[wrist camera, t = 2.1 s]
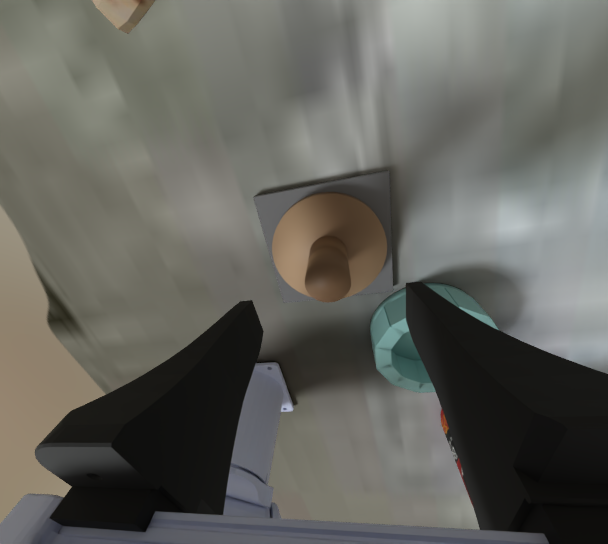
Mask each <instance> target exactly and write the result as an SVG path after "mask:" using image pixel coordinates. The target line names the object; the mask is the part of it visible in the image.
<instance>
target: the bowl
mask: <svg viewBox="0 0 608 544" xmlns="http://www.w3.org/2000/svg"><path fill="white" fill-rule="evenodd" d="M425 285H426V286H428V287H429V288H431V289H432V290H433V291H435V292H436V293H438V294H439V295H441V296H442V297H443V298H445V299H446V300H448V301H449V302H451V303H452V304H454V305H455V306H457V307H459V308H460V309H462V310H463V311H465V312H467V313H468V314H470V315H472V316H473V317H475V318H477V319H479V320H480V321H482V322H484V323H486V324H488V325H489V326H491V327H493V328H495V329H497V330H498V328H497V326H496V325H495V323H494V322H493V320H492V319H491V318H490V316H489V315H488V314H487V313H486V312H485V311H484V310H483V309H482V307H481V306H480V305H479V304H478V303H477V302H476V301H475V300H474V298H472V297H470V296H469V295H468V294H467V293H465V292H464V291H462V290H460V289H458V288H456V287H453V286H450V285H446V284H440V283H425ZM370 334H371V340H372V349H373V354H374V359H375V363H376V368H377V370H378V371H379V372H380V373H381V374H382V375H383V376H384V377H385V378H386V379H387V380H388V381H389V382H390V383H391V384H393V385H395V386H398V387H401V388H405V389H408V390H411V391H414V392H419V393H421V392H436V391H435V388H434V386H433V384H432V382H431V380H430V377H429V375H428V373H427V371H426V369H425V367H424V364H423V362H422V360H421V358H420V356H419V354H418V351H417V349H416V347H415V345H414V343H413V340H412V338H411V335H410V332H409V328H408V325H407V322H406V288H404V289H402V290H400V291H398V292H396V293H394V294H392V295H391V296H389V297H388V298H387V299H385V300H384V301H383V302H382V303H381V304H380V305H379V306H378V308H377V309H376V310H375V312H374V314H373V316H372V319H371V323H370Z"/></svg>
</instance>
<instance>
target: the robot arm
mask: <svg viewBox="0 0 608 544" xmlns="http://www.w3.org/2000/svg"><path fill="white" fill-rule="evenodd" d="M406 322H407V325H408V328H409V332H410V335H411V338H412V340H413V343H414V345H415V347H416V349H417V351H418V354H419V356H420V358H421V360H422V362H423V364H424V367H425V369H426V371H427V373H428V375H429V377H430V380H431V382H432V384H433V386H434V388H435V391H436V393H437V396H438V398H439V401H440V404H441V407H442V410H443V413H444V416H445V418H446V421H447V424H448V427H449V430H450V433H451V436H452V439H453V442H454V445H455V448H456V452H457V455H458V458H459V461H460V464H461V467H462V471H463V474H464V477H465V480H466V483H467V487H468V490H469V493H470V497H471V500H472V504H473V507H474V510H475V514H476V517H477V520H478V524H479V527H480V530H473V529H455V528H438V527H420V526H403V525H385V524H368V523H350V522H333V521H315V520H298V519H281V516H280V513H279V509H278V506H277V505H276V504H275V503H273V502H271V501H272V494H273V487H270V486H268V482H269V476H270V470H271V465H272V459H273V453H274V448H275V442H276V436H277V431H278V425H279V419H280V414H281V412H284V411H292V410H293V408H294V406H293V403H292V400H291V397H290V395H289V392H288V389H287V386H286V383H285V380H284V378H283V375H282V372H281V369H280V366H279V364H278V363H276V362H269V363H256V361H257V358H258V355H259V352H260V348H261V343H262V337H263V329H262V326H261V324H260V321H259V318H258V315H257V313H256V310H255V307H254V304H253V302H252V300H250V301H241V302H239V303H238V304H237V305H235V306H234V307H233V308H232V309H231V310H230V311H228V312H227V313H226V314H225V315H224V316H223V317H222V318H220V319H219V320H218V321H217V322H216V323H215V324H214V325H212V326H211V327H210V328H209V329H208V330H207V331H205V332H204V333H203V334H202V335H200V336H199V337H198V338H197V339H196V340H194V341H193V342H192V343H191V344H189V345H188V346H187V347H185V348H184V349H183V350H181V351H180V352H178V353H177V354H175V355H174V356H173V357H171V358H170V359H168V360H167V361H165V362H164V363H162V364H160V365H159V366H157V367H155V368H154V369H152V370H151V371H149V372H147V373H146V374H144V375H142V376H141V377H139V378H137V379H135V380H133V381H132V382H130V383H128V384H126V385H124V386H122V387H120V388H118V389H117V390H115V391H113V392H111V393H109V394H107V395H105V396H102V397H100V398H98V399H96V400H94V401H92V402H90V403H87V404H85V405H84V406H81V407H79V408H76V409H74V410H72V411H71V412H69V413H68V414H67V415H66V416H65V417H64V418H63V420H62V421H61V422H60V423H59V424H58V425H57V426H56V427H55V428H54V429H53V430H52V431H51V433H49V434H48V435H47V437H46V438H45V439H44V440H43V441H42V442H41V443H40V444H39V445H38V446H37V448H36V449H35V456H36V459H37V460H38V462H40V464H41V465H42V466H44V467H45V468H46V469H47V470H49V471H51V472H52V473H53V474H55V475H56V476H58V477H59V478H60V479H62V480H63V481H65V482H66V483H68V484H69V485H71V486H72V488H71V489H70V490H69V492H68V493H67V495H66V496H65V497H64V498H63V497H60V496H57V495H48V494H27V495H24V496H23V498H22V499H21V500H20V501H19V502H18V503H17V505H16V506H15V507H14V508H13V509H12V511H11V512H10V513H9V514H8V515H7V516H6V518H5V519H4V520H3V521H2V522H1V523H0V544H608V374H606V373H603V372H600V371H597V370H594V369H591V368H588V367H586V366H583V365H580V364H577V363H574V362H572V361H569V360H566V359H564V358H561V357H558V356H556V355H553V354H551V353H548V352H546V351H543V350H541V349H539V348H536V347H534V346H532V345H529V344H527V343H524V342H522V341H520V340H518V339H516V338H513V337H511V336H509V335H507V334H505V333H503V332H501V331H499V330H497V329H495V328H493V327H491V326H489V325H488V324H486V323H484V322H482V321H480V320H479V319H477V318H475V317H473V316H472V315H470V314H468V313H467V312H465V311H463V310H462V309H460V308H459V307H457V306H455V305H454V304H452V303H451V302H449V301H448V300H446V299H445V298H443V297H442V296H441V295H439V294H438V293H436V292H435V291H433V290H432V289H431V288H429V287H428V286H426V285H425V284H424V283H422V282H412V283H406Z"/></svg>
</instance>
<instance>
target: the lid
mask: <svg viewBox="0 0 608 544" xmlns="http://www.w3.org/2000/svg"><path fill="white" fill-rule="evenodd" d="M272 254H273V259H274V263H275V265H276V268H277V270H278V272H279V273H280V275H281V276H282V278H283V279H284V280H285V281H286V282H287V283H288V284H289V285H290V286H291V287H292V288H294V289H295V290H297V291H298V292H300V293H302V294H304V295H307V296H309V297H313V298H314V299H316V300H319V301H322V302H335V301H338V300H340V299H342V298H346V297H349V296H352V295H354V294H356V293H358V292H360V291H362V290H363V289H365V288H366V287H367V286H369V285H370V284H371V283H372V282H373V281H374V280H375V278H376V277H377V276H378V274H379V273H380V271H381V269H382V267H383V265H384V262H385V259H386V254H387V240H386V235H385V231H384V229H383V227H382V224H381V223H380V221H379V219H378V218H377V216H376V214H375V213H374V212H373V211H372V210H371V208H370V207H368V206H367V205H366V204H365V203H364V202H362V201H361V200H359V199H357V198H355V197H353V196H351V195H348V194H344V193H339V192H321V193H316V194H312V195H310V196H307V197H305V198H303V199H301V200H299V201H298V202H296V203H295V204H294V205H292V206H291V207H290V208H289V209H288V210H287V211H286V213H285V214H284V215H283V217H282V219H281V220H280V222H279V224H278V226H277V227H276V230H275V233H274V236H273V241H272Z"/></svg>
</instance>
